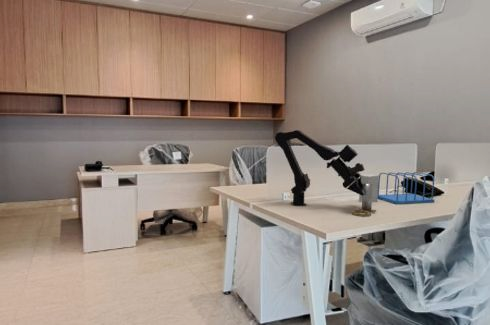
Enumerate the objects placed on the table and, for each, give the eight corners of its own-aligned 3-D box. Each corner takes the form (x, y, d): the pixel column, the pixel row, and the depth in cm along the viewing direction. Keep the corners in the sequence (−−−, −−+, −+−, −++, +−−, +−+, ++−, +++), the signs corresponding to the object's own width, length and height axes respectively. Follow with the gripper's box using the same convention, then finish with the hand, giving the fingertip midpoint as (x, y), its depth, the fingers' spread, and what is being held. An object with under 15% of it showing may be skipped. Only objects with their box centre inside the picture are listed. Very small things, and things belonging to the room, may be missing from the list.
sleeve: (359, 209, 168) (361, 183, 167) (368, 209, 169) (369, 182, 167) (364, 212, 164) (365, 184, 162) (373, 211, 164) (374, 184, 163)
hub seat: (344, 213, 163) (344, 209, 163) (366, 212, 165) (366, 209, 165) (355, 219, 153) (355, 215, 152) (378, 218, 154) (378, 214, 154)
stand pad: (356, 212, 164) (356, 211, 164) (358, 209, 171) (359, 208, 171) (374, 214, 161) (374, 213, 161) (376, 211, 168) (376, 210, 168)
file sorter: (396, 204, 185) (398, 175, 183) (375, 198, 201) (376, 171, 200) (434, 202, 192) (436, 174, 190) (411, 196, 208) (412, 171, 207)
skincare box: (369, 200, 194) (370, 173, 193) (377, 202, 189) (379, 175, 188) (358, 201, 190) (359, 174, 189) (367, 203, 185) (368, 175, 184)
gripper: (350, 159, 158) (375, 185, 154) (357, 156, 175) (379, 180, 171) (332, 175, 163) (356, 201, 159) (340, 171, 179) (362, 194, 175)
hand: (364, 193), depth 166 cm, fingers open, 9 cm apart
